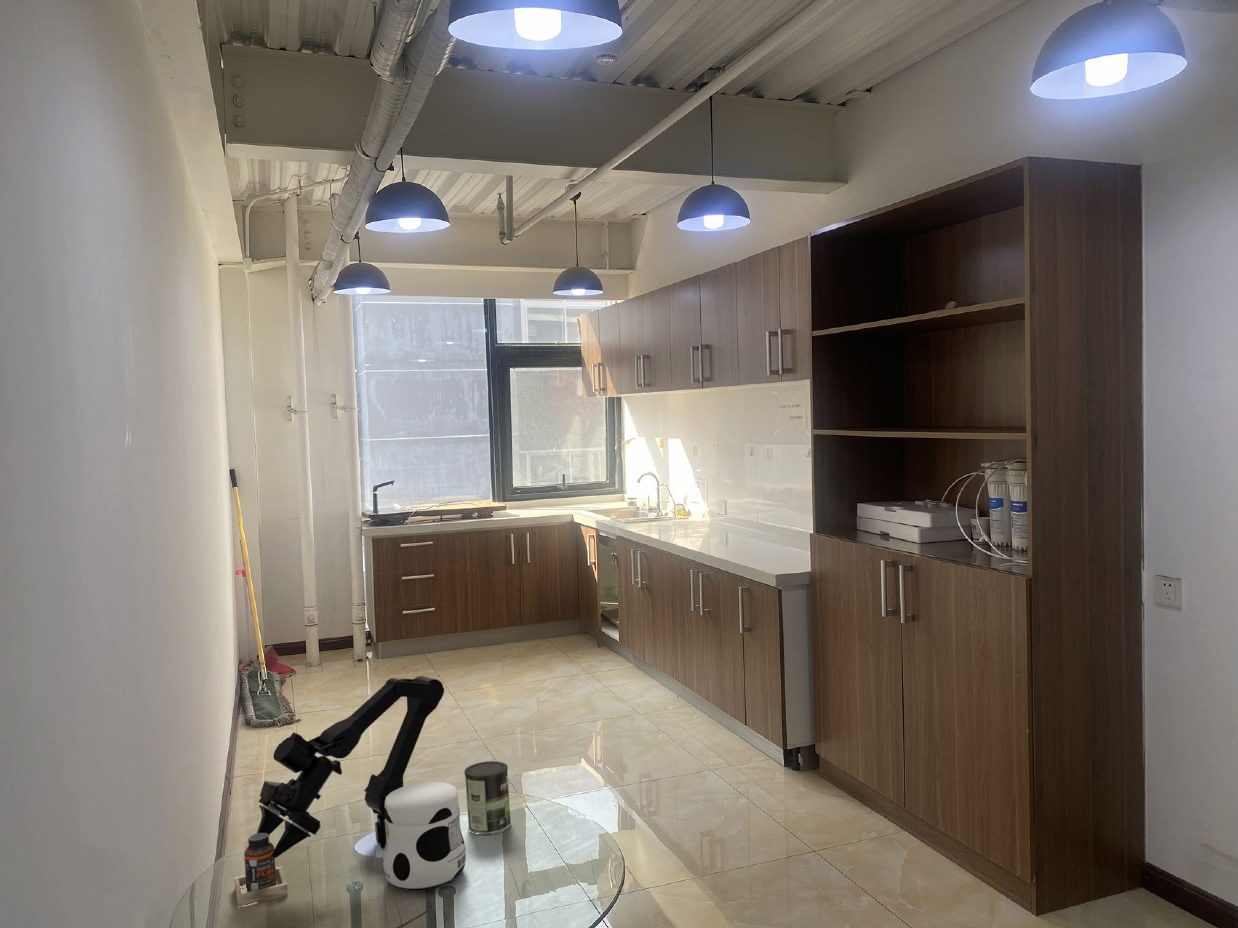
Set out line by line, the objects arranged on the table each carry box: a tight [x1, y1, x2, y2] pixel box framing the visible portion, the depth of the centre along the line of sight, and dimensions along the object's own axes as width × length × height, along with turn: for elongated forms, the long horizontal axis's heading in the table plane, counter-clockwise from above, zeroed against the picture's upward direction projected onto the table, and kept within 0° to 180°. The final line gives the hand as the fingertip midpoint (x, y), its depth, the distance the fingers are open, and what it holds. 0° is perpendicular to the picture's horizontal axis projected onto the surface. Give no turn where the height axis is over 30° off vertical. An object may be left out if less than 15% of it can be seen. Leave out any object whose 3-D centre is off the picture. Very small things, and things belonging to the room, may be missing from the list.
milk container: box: [382, 781, 467, 892], centre depth 197 cm, size 17×17×18 cm
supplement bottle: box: [243, 832, 276, 892], centre depth 195 cm, size 6×6×11 cm
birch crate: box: [233, 865, 289, 908], centre depth 195 cm, size 10×10×2 cm
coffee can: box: [464, 760, 512, 836], centre depth 222 cm, size 10×10×14 cm
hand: (264, 850), depth 196 cm, fingers open, 9 cm apart
